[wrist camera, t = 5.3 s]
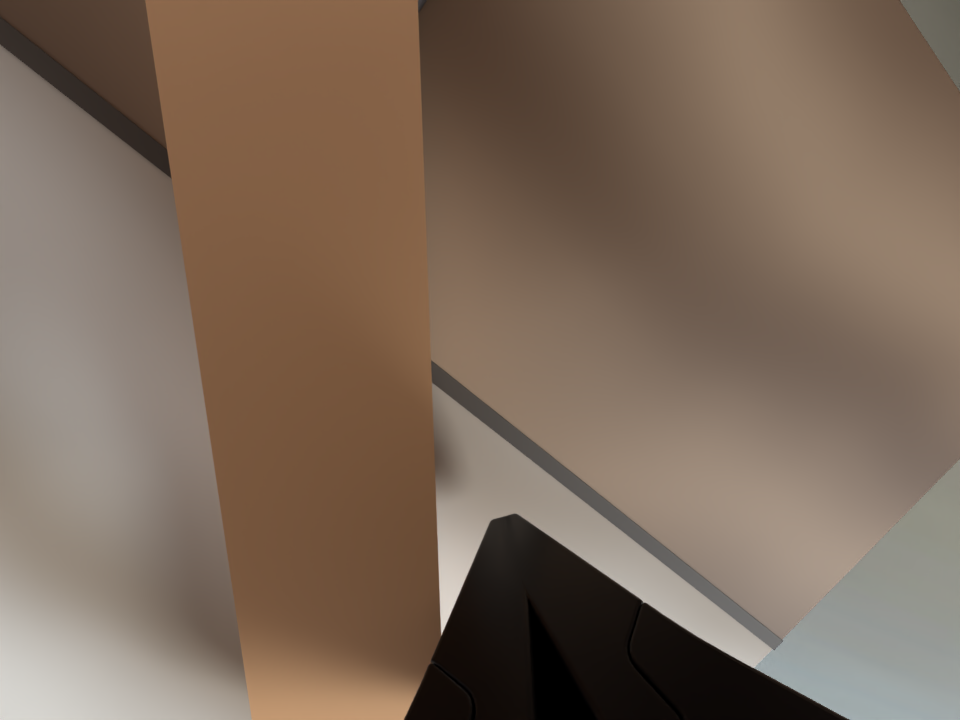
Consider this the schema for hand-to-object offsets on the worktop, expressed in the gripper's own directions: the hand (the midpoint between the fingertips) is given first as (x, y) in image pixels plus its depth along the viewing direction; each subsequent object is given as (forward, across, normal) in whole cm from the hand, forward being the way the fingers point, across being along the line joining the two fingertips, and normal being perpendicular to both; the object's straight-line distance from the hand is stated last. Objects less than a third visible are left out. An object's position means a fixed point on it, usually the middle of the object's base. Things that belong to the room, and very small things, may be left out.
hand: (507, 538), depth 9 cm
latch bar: (+1, +2, -4) cm, 4 cm away
